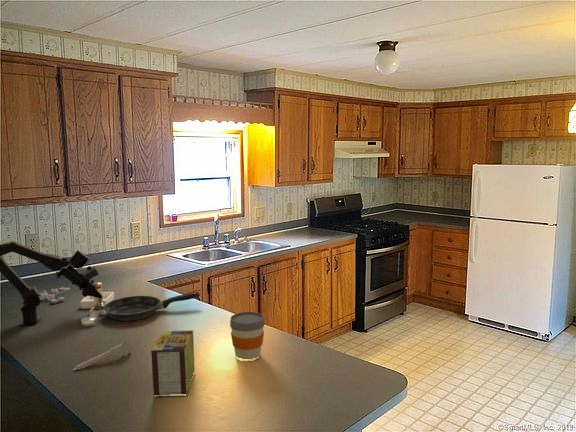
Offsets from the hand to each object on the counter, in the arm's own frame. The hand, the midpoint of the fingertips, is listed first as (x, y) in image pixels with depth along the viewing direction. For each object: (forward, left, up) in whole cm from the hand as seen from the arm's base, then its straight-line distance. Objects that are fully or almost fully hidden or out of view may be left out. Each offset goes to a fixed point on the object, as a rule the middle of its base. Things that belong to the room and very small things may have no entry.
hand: (101, 296), depth 217 cm
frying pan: (-3, -22, -8) cm, 23 cm away
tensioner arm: (-8, +1, -8) cm, 11 cm away
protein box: (-74, -43, -8) cm, 86 cm away
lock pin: (-1, +1, -7) cm, 7 cm away
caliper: (-54, -15, -8) cm, 56 cm away
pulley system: (+27, +33, -9) cm, 44 cm away
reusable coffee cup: (-56, -67, -8) cm, 88 cm away
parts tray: (+13, +6, -8) cm, 17 cm away
